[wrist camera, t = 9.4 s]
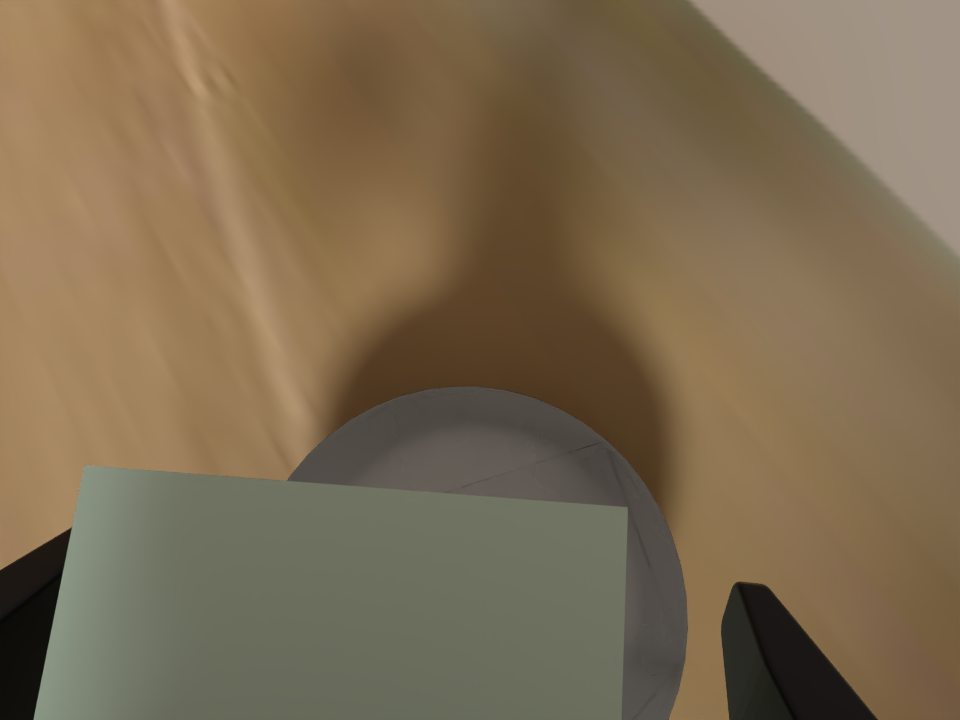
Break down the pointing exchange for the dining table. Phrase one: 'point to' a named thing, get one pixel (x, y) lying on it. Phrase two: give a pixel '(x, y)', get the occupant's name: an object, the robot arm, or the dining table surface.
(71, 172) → the dining table surface
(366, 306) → the dining table surface
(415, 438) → the charcoal tin
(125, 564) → the sage block
